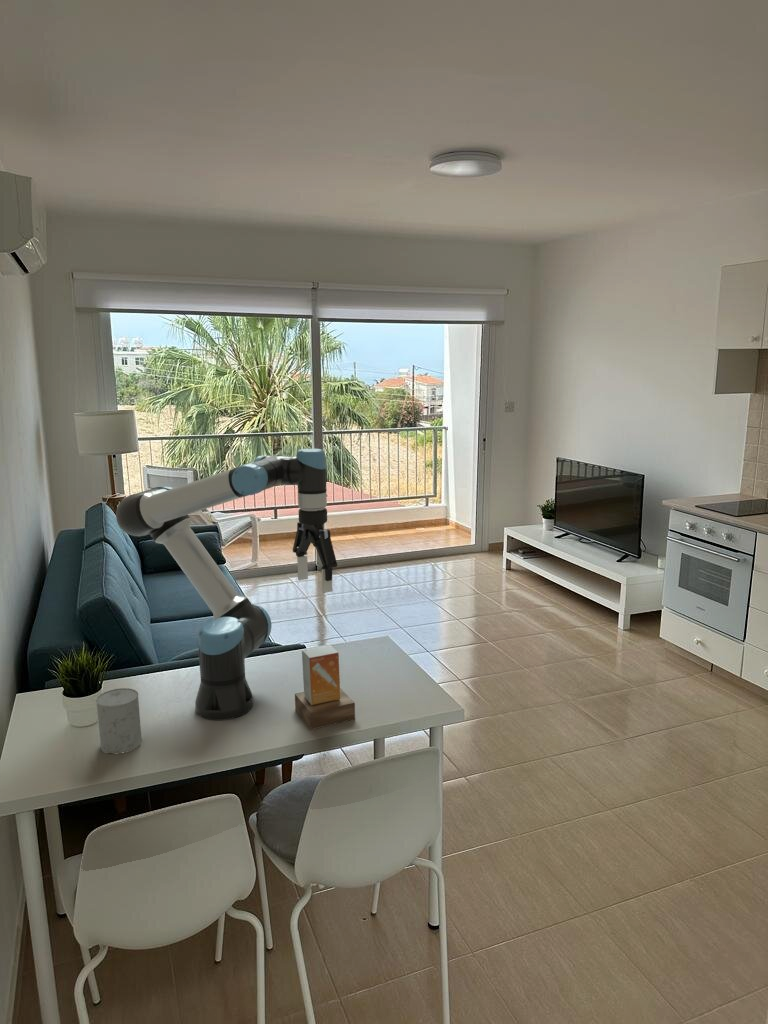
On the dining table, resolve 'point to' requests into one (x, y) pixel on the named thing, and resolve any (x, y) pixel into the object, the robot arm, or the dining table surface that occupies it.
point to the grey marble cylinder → (119, 720)
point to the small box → (321, 674)
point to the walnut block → (325, 710)
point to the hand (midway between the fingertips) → (314, 585)
